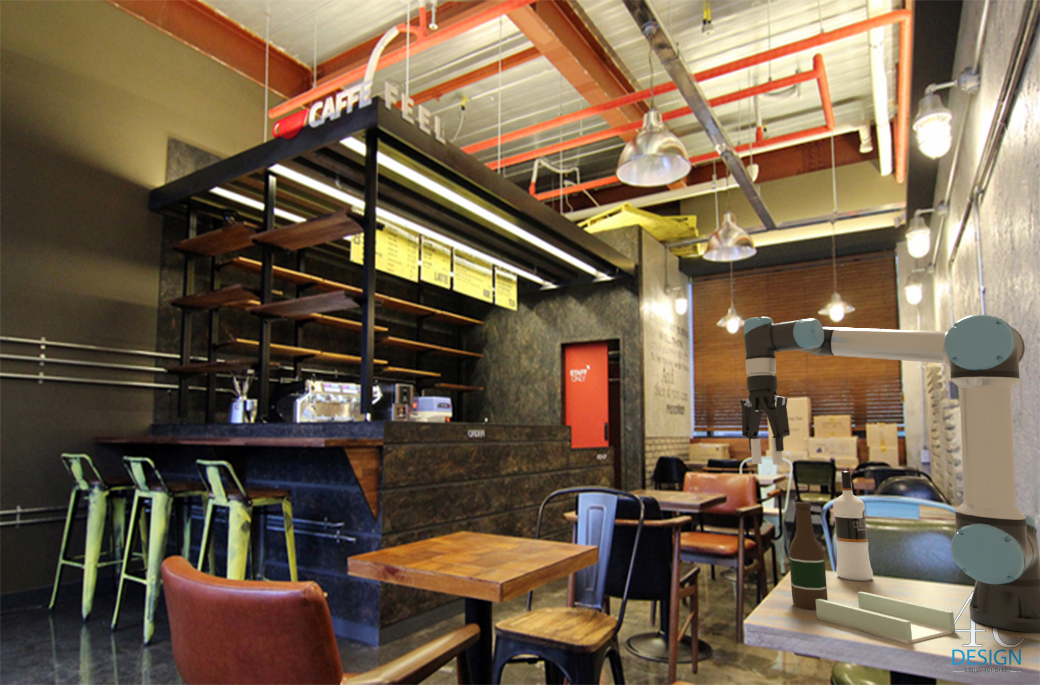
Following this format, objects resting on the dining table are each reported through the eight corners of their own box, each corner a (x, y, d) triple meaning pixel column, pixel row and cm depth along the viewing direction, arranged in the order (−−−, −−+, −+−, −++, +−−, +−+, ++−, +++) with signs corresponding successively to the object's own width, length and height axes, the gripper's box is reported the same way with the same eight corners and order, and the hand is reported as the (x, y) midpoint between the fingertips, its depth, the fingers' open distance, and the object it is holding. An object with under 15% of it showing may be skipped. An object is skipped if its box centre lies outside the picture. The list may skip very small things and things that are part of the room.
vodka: (843, 573, 185) (835, 470, 190) (877, 578, 179) (868, 471, 183) (831, 578, 179) (823, 471, 184) (866, 583, 172) (857, 472, 177)
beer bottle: (826, 612, 143) (818, 504, 147) (789, 607, 147) (782, 502, 151) (830, 604, 150) (822, 501, 153) (795, 600, 154) (788, 500, 157)
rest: (955, 632, 127) (953, 611, 128) (907, 644, 120) (905, 622, 121) (863, 609, 145) (861, 591, 146) (816, 618, 138) (815, 599, 138)
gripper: (801, 372, 159) (808, 464, 156) (744, 379, 176) (749, 462, 172) (781, 371, 156) (787, 465, 152) (724, 378, 173) (729, 463, 169)
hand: (767, 463), depth 162 cm, fingers open, 6 cm apart
